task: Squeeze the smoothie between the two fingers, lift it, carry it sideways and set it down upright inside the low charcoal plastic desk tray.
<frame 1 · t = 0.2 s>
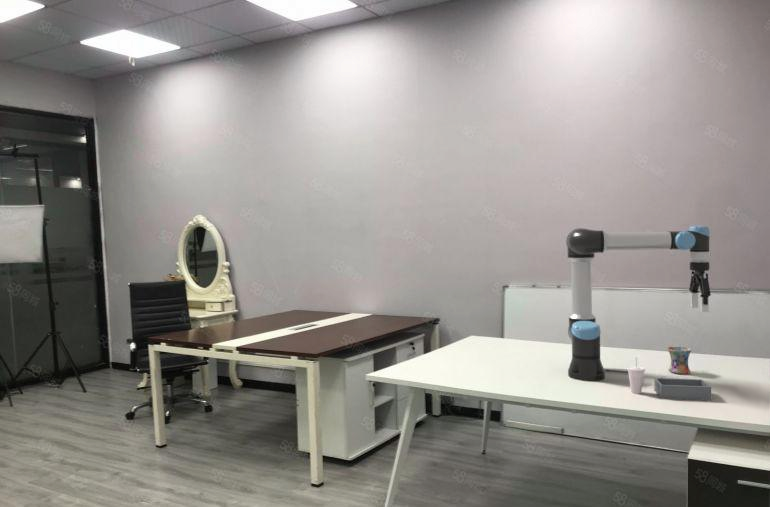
hand: (699, 309, 244), 28 cm above the table, fingers open, 13 cm apart
tray: (681, 395, 213), on the table
mug: (680, 372, 247), on the table
smoothie: (636, 392, 218), on the table
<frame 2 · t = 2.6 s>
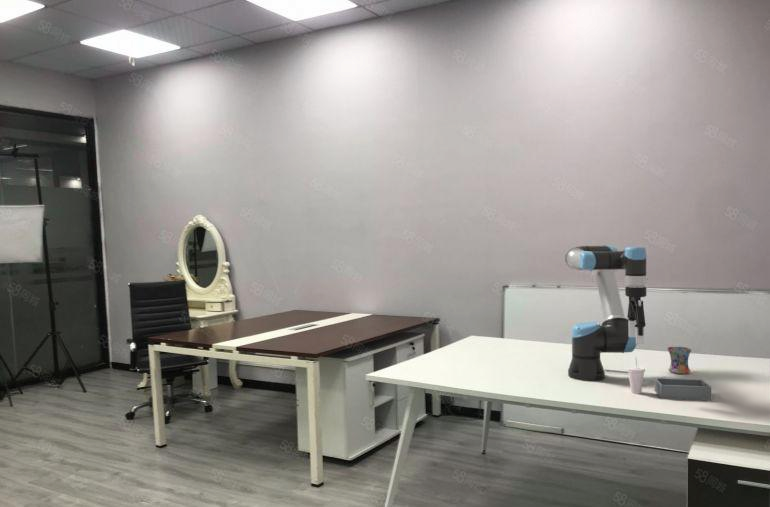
hand: (636, 340, 217), 21 cm above the table, fingers open, 13 cm apart
nothing on the table moved.
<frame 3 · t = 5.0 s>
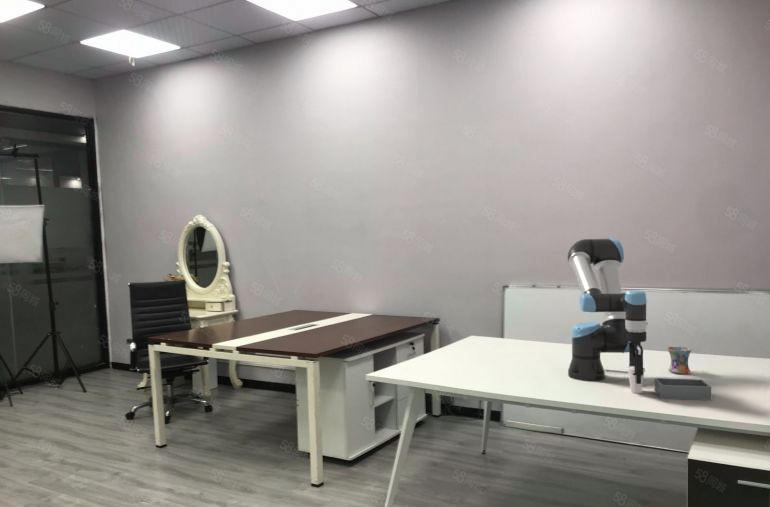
hand: (636, 388, 218), 1 cm above the table, fingers closed on smoothie, 6 cm apart
smoothie: (636, 392, 218), on the table, touching gripper
everything else where it was.
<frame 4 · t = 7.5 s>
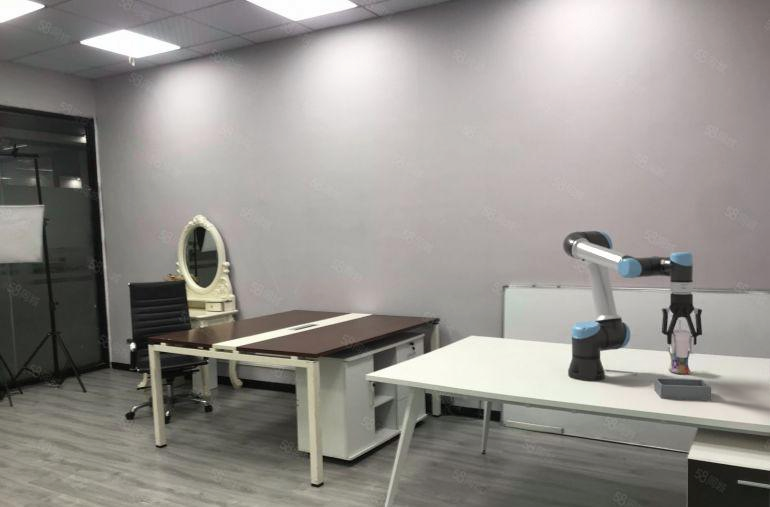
hand: (681, 352, 212), 16 cm above the table, fingers closed on smoothie, 6 cm apart
smoothie: (681, 357, 213), point 15 cm above the table, touching gripper
everything else where it was.
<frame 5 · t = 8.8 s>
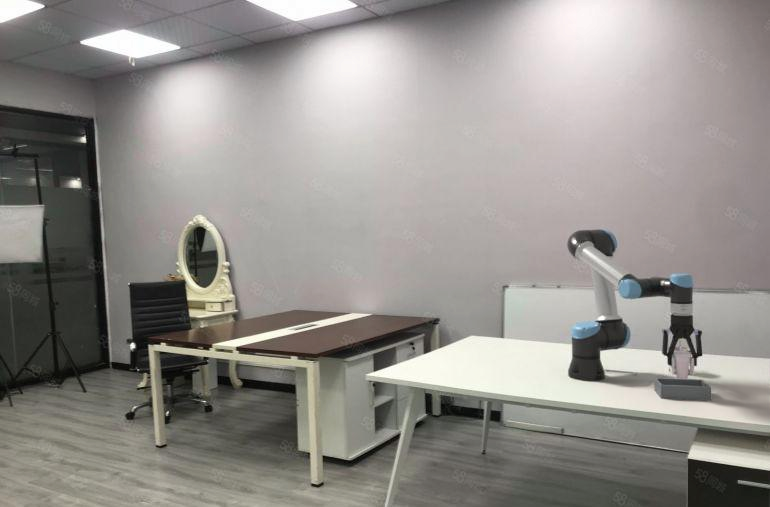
hand: (682, 374, 213), 8 cm above the table, fingers closed on smoothie, 6 cm apart
smoothie: (682, 378, 213), point 7 cm above the table, touching gripper
everything else where it was.
when the fingers open (4 cm above the table, at t = 9.9 s): smoothie drops 2 cm, resting on tray.
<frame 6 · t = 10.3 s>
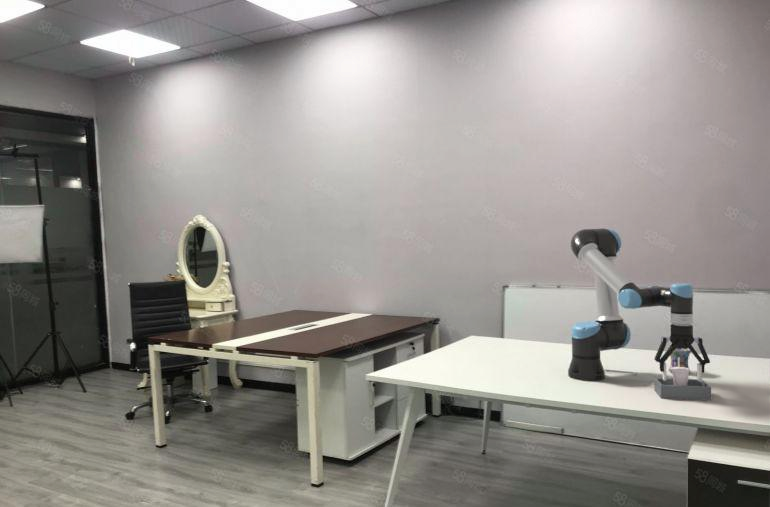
hand: (681, 380, 213), 6 cm above the table, fingers open, 11 cm apart
smoothie: (680, 394, 213), resting on tray
everything else where it was.
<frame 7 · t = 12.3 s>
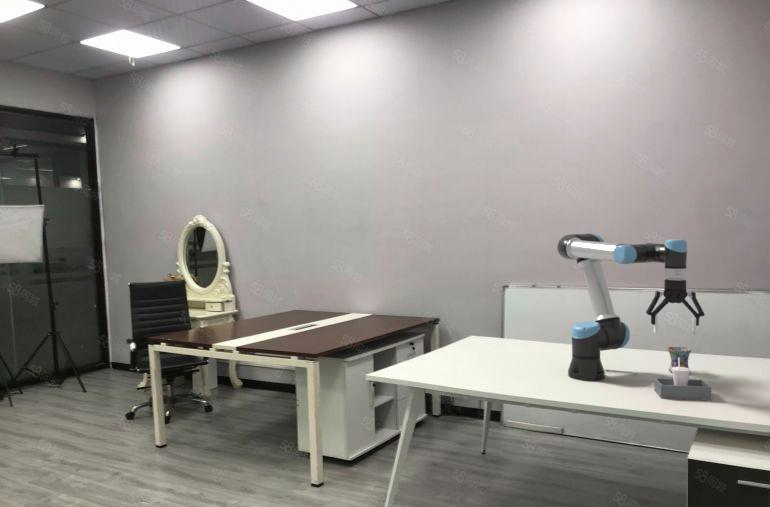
hand: (674, 333, 216), 23 cm above the table, fingers open, 13 cm apart
nothing on the table moved.
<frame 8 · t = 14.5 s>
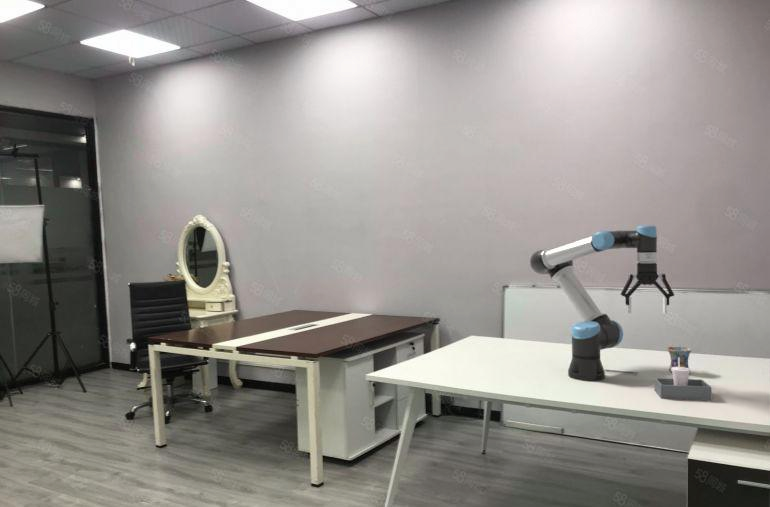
hand: (647, 313, 233), 29 cm above the table, fingers open, 13 cm apart
nothing on the table moved.
at the end: smoothie inside the target area on the tray (0.4 cm from its centre), point 0.4 cm above the tray's base; smoothie tilted 0°; the gripper is holding nothing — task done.
